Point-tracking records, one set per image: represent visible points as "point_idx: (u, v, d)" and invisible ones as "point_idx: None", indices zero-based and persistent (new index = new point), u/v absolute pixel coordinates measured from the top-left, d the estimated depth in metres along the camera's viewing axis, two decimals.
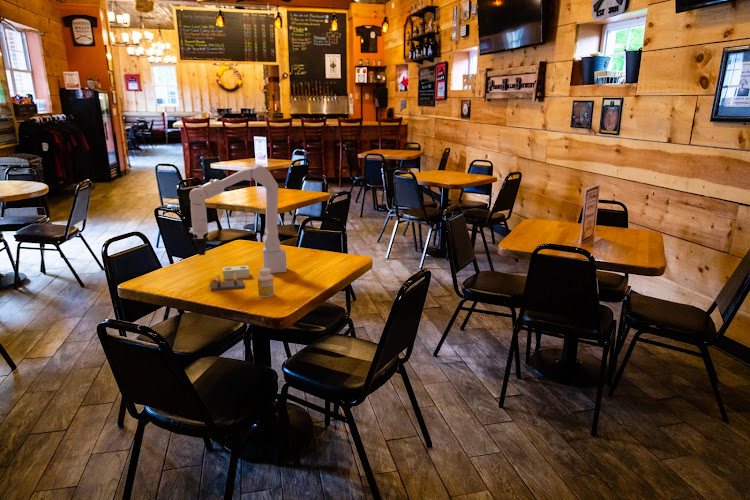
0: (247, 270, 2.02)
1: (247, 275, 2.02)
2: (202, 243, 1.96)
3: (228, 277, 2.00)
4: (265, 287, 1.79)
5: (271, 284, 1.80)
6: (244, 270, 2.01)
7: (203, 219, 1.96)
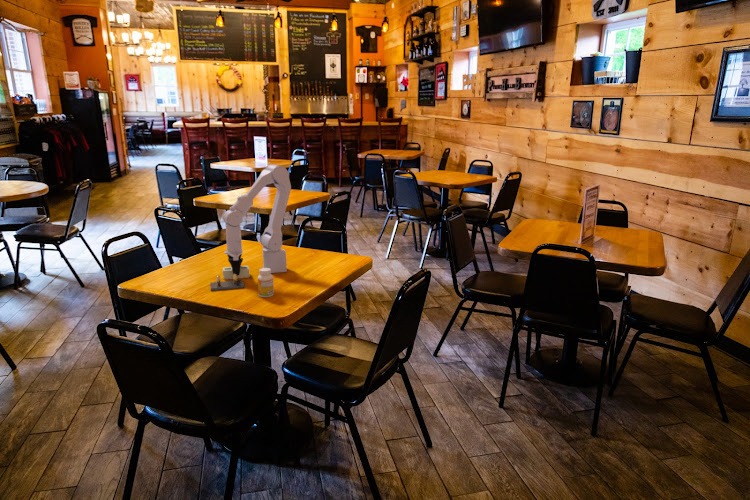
0: (247, 270, 2.02)
1: (247, 275, 2.02)
2: (236, 263, 1.99)
3: (228, 277, 2.00)
4: (265, 287, 1.79)
5: (271, 284, 1.80)
6: (244, 270, 2.01)
7: (238, 241, 1.98)
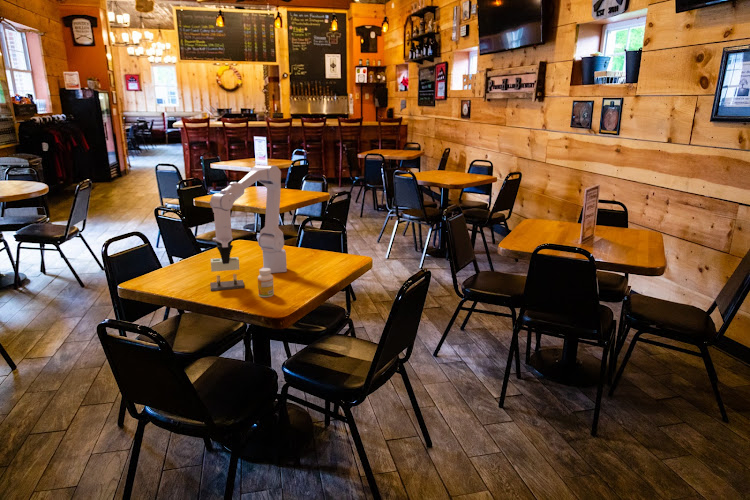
0: (237, 262, 1.88)
1: (237, 267, 1.88)
2: (226, 251, 1.85)
3: (216, 269, 1.86)
4: (265, 287, 1.79)
5: (271, 284, 1.80)
6: (234, 262, 1.87)
7: (227, 226, 1.84)
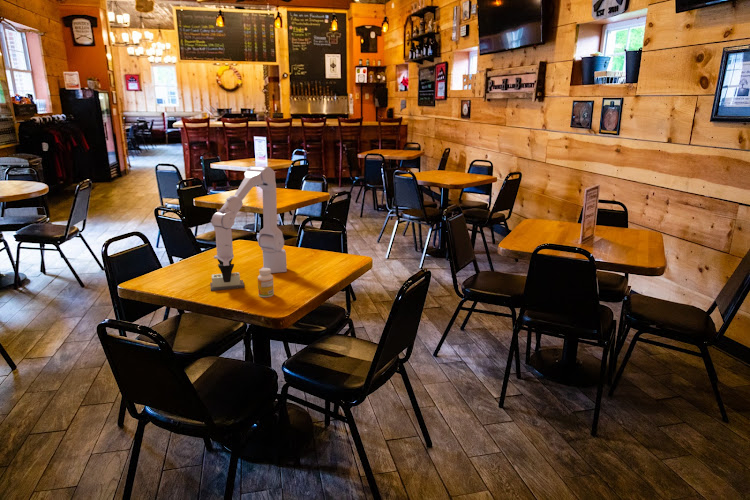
0: (238, 277, 1.89)
1: (238, 283, 1.90)
2: (227, 269, 1.85)
3: (217, 284, 1.87)
4: (265, 287, 1.79)
5: (271, 284, 1.80)
6: (234, 277, 1.89)
7: (229, 244, 1.85)
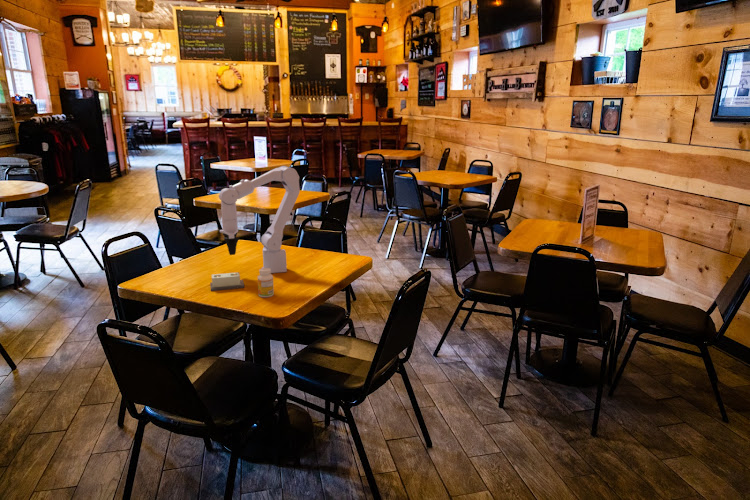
0: (238, 277, 1.89)
1: (238, 283, 1.90)
2: (232, 243, 1.97)
3: (217, 284, 1.87)
4: (265, 287, 1.79)
5: (271, 284, 1.80)
6: (234, 277, 1.89)
7: (234, 219, 1.97)
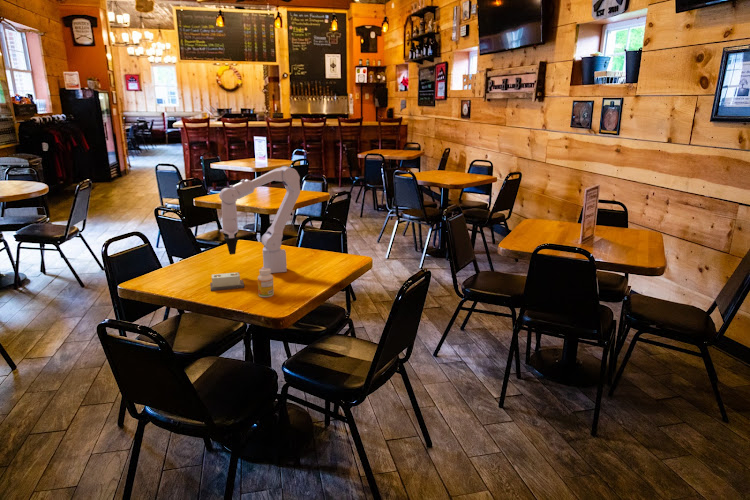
0: (238, 277, 1.89)
1: (238, 283, 1.90)
2: (232, 242, 1.97)
3: (217, 284, 1.87)
4: (265, 287, 1.79)
5: (271, 284, 1.80)
6: (234, 277, 1.89)
7: (234, 219, 1.97)
